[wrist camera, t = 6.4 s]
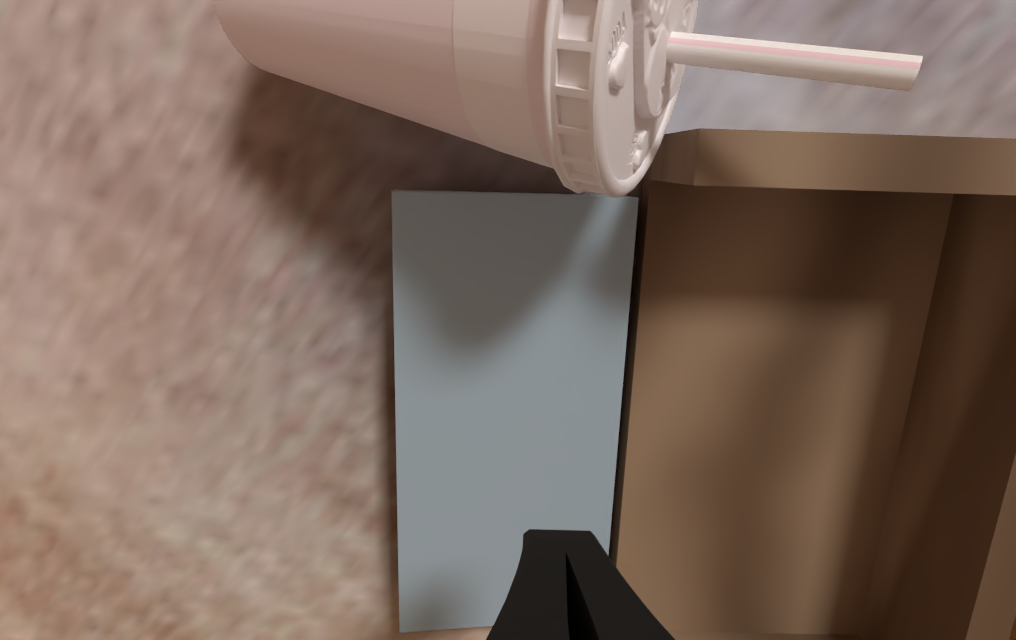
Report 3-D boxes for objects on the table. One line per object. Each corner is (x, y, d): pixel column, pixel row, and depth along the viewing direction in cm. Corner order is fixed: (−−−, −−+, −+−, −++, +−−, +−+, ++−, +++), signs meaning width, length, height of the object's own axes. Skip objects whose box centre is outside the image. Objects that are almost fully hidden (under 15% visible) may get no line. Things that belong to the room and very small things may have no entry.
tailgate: (638, 197, 17) (391, 191, 16) (603, 617, 21) (399, 632, 20) (627, 195, 18) (393, 189, 17) (595, 597, 22) (400, 611, 21)
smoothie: (321, 161, 18) (836, 280, 13) (112, 52, 12) (919, 192, 7) (383, -48, 18) (928, -15, 13) (202, -264, 12) (1098, -372, 7)
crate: (979, 148, 18) (1153, 143, 13) (869, 642, 23) (970, 773, 18) (646, 137, 18) (699, 128, 13) (603, 636, 22) (631, 767, 18)
